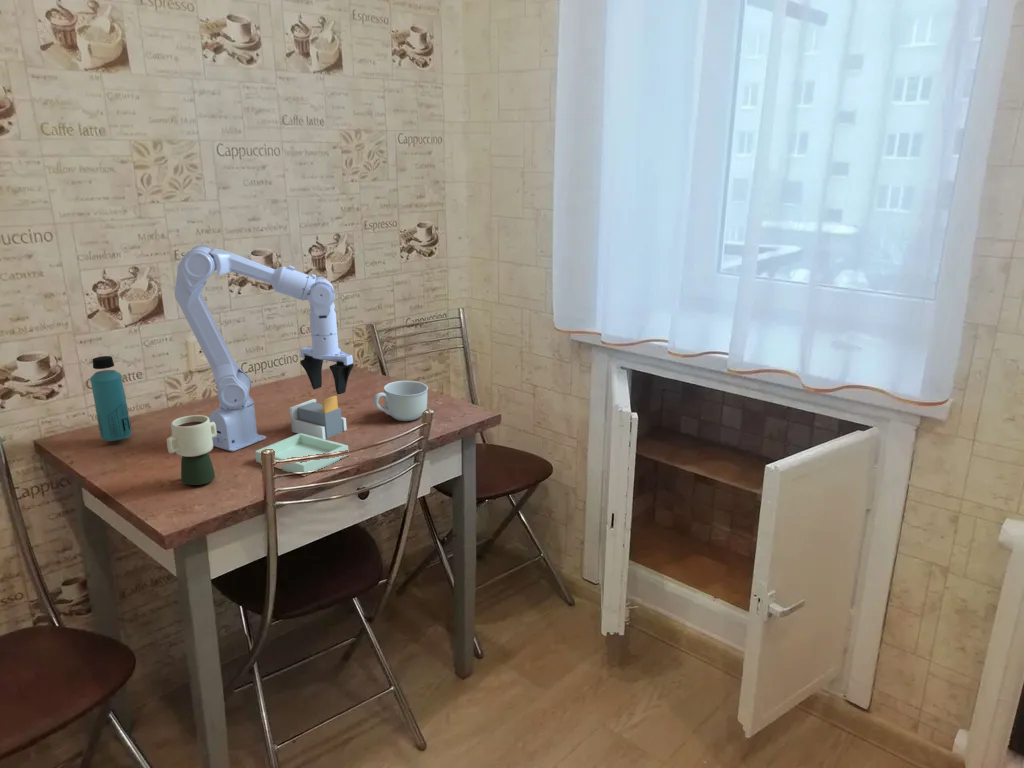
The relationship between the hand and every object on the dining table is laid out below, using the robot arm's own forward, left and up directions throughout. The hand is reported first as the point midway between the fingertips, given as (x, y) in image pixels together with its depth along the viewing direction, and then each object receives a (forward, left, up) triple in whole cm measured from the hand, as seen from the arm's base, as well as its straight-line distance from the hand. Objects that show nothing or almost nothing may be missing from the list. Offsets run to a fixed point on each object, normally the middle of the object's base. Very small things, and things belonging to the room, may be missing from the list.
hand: (329, 390), depth 169 cm
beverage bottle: (-30, +38, -11) cm, 49 cm away
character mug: (-34, +3, -11) cm, 35 cm away
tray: (-15, -6, -10) cm, 19 cm away
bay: (-1, +3, -10) cm, 11 cm away
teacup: (+16, -7, -11) cm, 21 cm away
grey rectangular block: (-1, +3, -10) cm, 11 cm away
